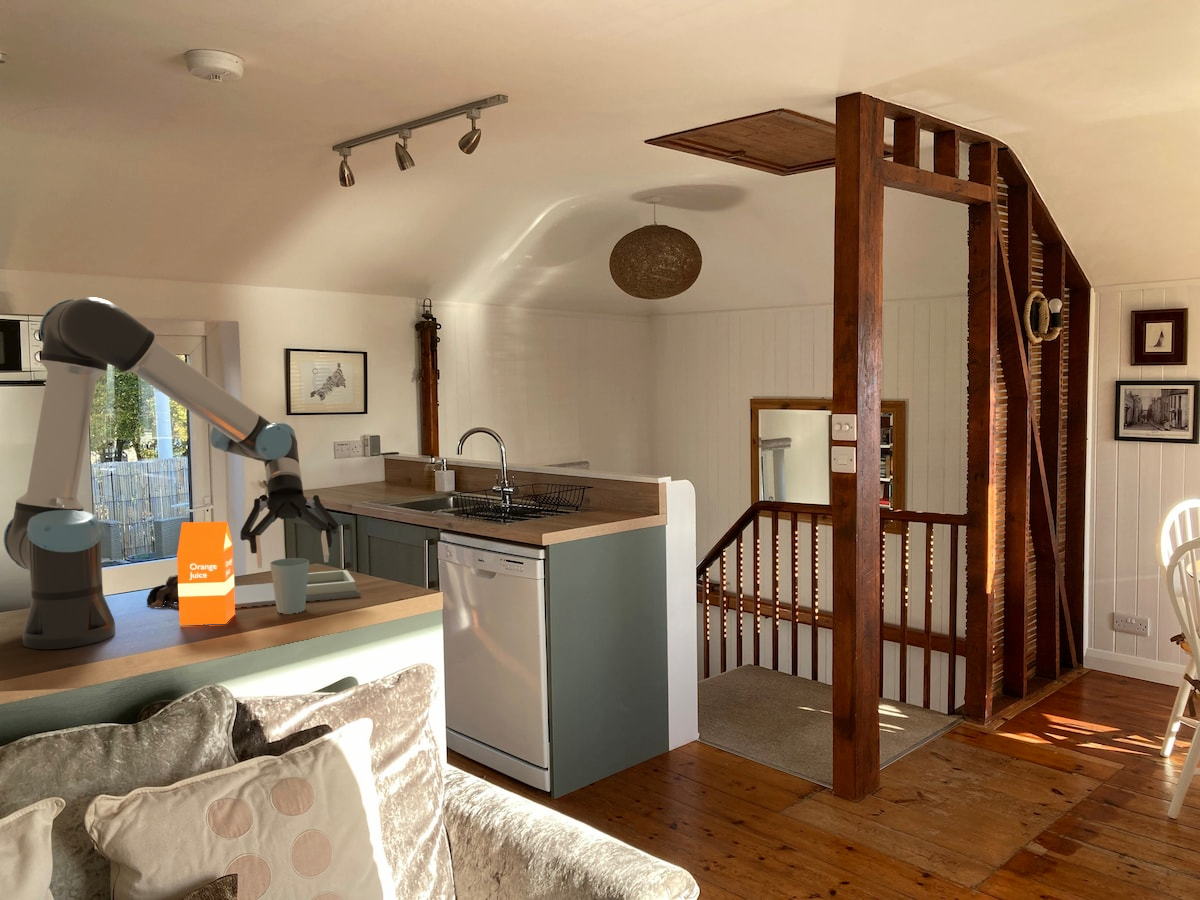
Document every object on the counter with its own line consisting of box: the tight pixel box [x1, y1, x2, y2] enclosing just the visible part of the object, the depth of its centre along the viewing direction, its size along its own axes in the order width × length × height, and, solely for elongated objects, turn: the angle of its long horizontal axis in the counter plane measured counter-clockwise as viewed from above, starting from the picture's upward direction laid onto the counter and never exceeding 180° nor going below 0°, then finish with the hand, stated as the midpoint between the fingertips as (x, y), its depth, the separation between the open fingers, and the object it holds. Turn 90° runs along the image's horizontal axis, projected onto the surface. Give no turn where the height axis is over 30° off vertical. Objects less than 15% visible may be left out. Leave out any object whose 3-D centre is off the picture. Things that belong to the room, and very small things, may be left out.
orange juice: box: [176, 521, 236, 627], centre depth 189 cm, size 8×9×20 cm
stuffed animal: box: [146, 574, 179, 610], centre depth 205 cm, size 12×10×12 cm
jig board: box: [234, 569, 360, 609], centre depth 211 cm, size 26×17×3 cm, turn 113°
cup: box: [269, 557, 310, 615], centre depth 196 cm, size 8×8×10 cm
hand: (293, 561), depth 201 cm, fingers open, 13 cm apart
